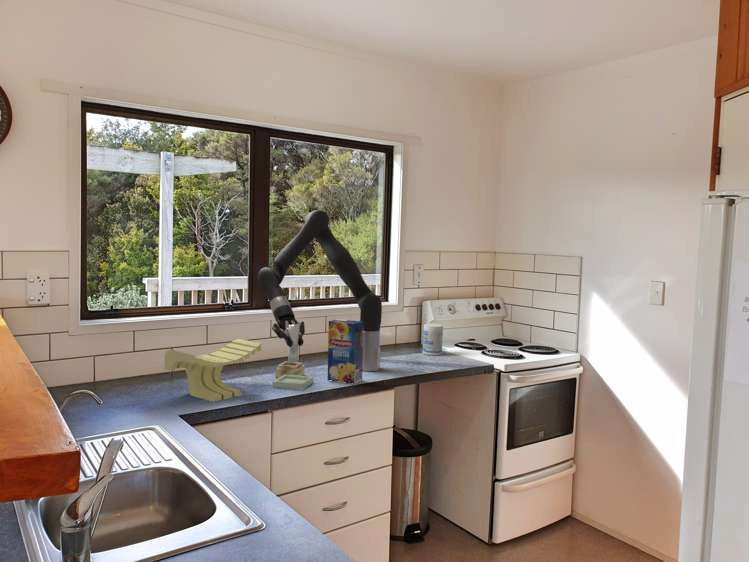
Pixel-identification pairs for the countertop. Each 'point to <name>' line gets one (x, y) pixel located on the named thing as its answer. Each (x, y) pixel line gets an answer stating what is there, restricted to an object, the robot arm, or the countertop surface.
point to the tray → (293, 381)
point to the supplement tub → (432, 339)
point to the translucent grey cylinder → (294, 343)
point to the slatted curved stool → (211, 368)
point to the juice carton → (345, 350)
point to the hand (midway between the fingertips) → (296, 345)
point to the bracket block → (290, 369)
